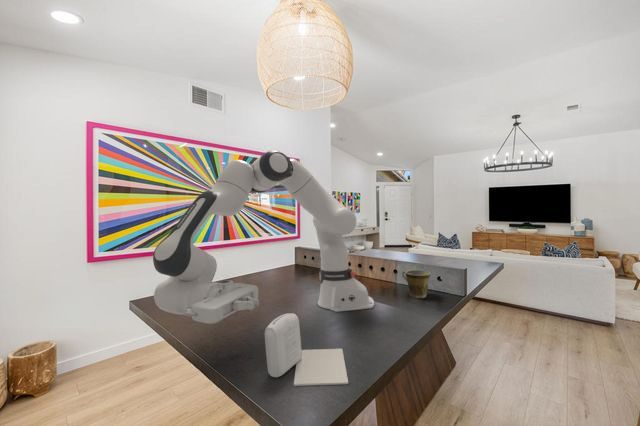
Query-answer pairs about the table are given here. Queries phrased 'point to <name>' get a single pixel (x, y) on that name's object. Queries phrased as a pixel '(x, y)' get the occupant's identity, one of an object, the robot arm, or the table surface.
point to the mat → (321, 368)
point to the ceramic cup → (417, 282)
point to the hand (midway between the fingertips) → (255, 304)
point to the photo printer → (282, 344)
